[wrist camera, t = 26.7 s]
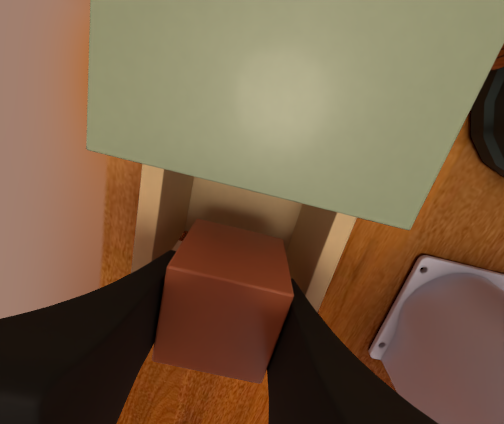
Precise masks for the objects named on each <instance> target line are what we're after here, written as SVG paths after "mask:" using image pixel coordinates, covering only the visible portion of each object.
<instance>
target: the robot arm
mask: <svg viewBox="0 0 504 424" xmlns="http://www.w3.org/2000/svg"><path fill="white" fill-rule="evenodd" d="M175 253H176V251H174V250H169V251H168V252H166V253H164V254H163V255H161V256H159V257H158V258H156V259H155V260H153V261H151V262H150V263H148V264H146V265H145V266H143V267H141V268H140V269H138V270H136V271H134V272H133V273H131V274H129V275H127V276H125V277H123V278H121V279H119V280H117V281H115V282H113V283H111V284H109V285H107V286H104V287H102V288H100V289H97V290H95V291H92V292H90V293H87V294H85V295H82V296H79V297H76V298H73V299H70V300H67V301H64V302H61V303H58V304H55V305H52V306H49V307H46V308H41V309H38V310H34V311H31V312H27V313H23V314H19V315H15V316H11V317H6V318H2V319H0V424H116V423H117V421H118V418H119V416H120V414H121V411H122V409H123V406H124V404H125V402H126V400H127V397H128V395H129V393H130V390H131V388H132V386H133V383H134V381H135V379H136V377H137V374H138V372H139V370H140V368H141V366H142V364H143V363H144V361H145V359H146V357H147V355H148V353H149V352H150V350H151V348H152V346H153V344H154V342H155V337H156V330H157V324H158V318H159V312H160V305H161V299H162V293H163V287H164V280H165V274H166V268H167V266H168V264H169V262H170V261H171V259H172V258H173V256H174V254H175ZM422 267H424V268H423V269H422V270H420V269H421V268H422ZM291 282H292V288H293V293H294V297H293V300H292V303H291V305H290V308H289V311H288V313H287V316H286V319H285V322H284V324H283V327H282V330H281V332H280V335H279V338H278V340H277V343H276V346H275V348H274V351H273V354H272V356H271V359H270V362H269V365H268V367H267V374H268V389H269V424H504V274H502V273H498V272H494V271H490V270H486V269H481V268H477V267H473V266H469V265H465V264H461V263H457V262H453V261H449V260H445V259H441V258H437V257H433V256H429V255H423V256H421V257H419V258H418V259H417V261H416V263H415V265H414V267H413V269H412V270H411V272H410V274H409V276H408V278H407V280H406V282H405V284H404V285H403V287H402V289H401V291H400V293H399V295H398V297H397V298H396V300H395V302H394V304H393V306H392V308H391V310H390V311H389V313H388V315H387V317H386V319H385V321H384V323H383V325H382V326H381V328H380V330H379V332H378V334H377V336H376V338H375V339H374V341H373V343H372V345H371V347H370V349H369V354H370V356H371V357H372V358H374V359H378V360H381V361H382V363H383V365H384V367H385V369H386V371H387V373H388V375H389V377H390V379H391V381H392V383H393V385H394V387H395V389H396V391H397V392H395V391H394V390H393V389H392V388H390V387H389V386H388V385H387V384H386V383H384V382H383V381H382V380H381V379H380V378H379V377H377V376H376V375H375V374H374V373H373V372H372V371H371V370H370V369H369V368H367V367H366V366H365V365H364V364H363V363H362V362H361V361H360V360H359V359H358V358H357V357H356V356H355V355H354V354H353V353H352V352H351V351H350V350H349V349H348V348H347V347H346V346H345V345H344V344H343V343H342V342H341V341H340V340H339V338H338V337H337V336H336V335H335V334H334V333H333V332H332V330H331V329H330V328H329V327H328V326H327V324H326V323H325V322H324V321H323V319H322V318H321V317H320V316H319V314H318V313H317V312H316V310H315V309H314V308H313V306H312V305H311V303H310V302H309V301H308V299H307V298H306V296H305V295H304V293H303V292H302V290H301V289H300V287H299V286H298V285H297V283H296V282H295V280H294V279H293V278H291ZM380 343H381V344H380Z"/></svg>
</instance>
